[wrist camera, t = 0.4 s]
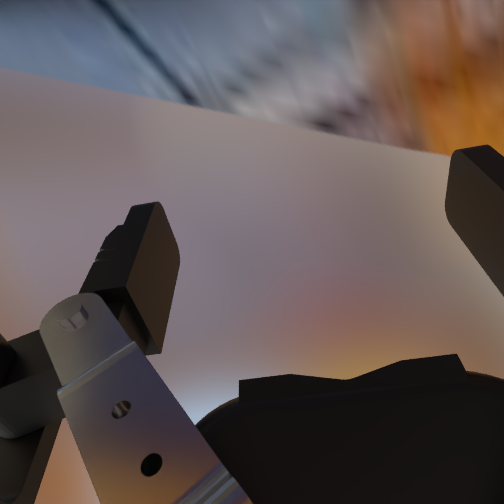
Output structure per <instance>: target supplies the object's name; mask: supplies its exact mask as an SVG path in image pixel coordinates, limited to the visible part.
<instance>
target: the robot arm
mask: <svg viewBox="0 0 504 504" xmlns="http://www.w3.org/2000/svg"><path fill="white" fill-rule="evenodd" d="M445 211H446V216H447V219H448V221H449V223H450V225H451V226H452V228H453V229H454V230H455V232H456V233H457V234H458V236H459V237H460V238H461V240H462V241H463V242H464V244H465V245H466V246H467V247H468V249H469V250H470V252H471V253H472V255H473V256H474V257H475V259H476V260H477V261H478V263H479V264H480V265H481V267H482V268H483V269H484V271H485V272H486V273H487V275H488V276H489V277H490V279H491V280H492V282H493V283H494V284H495V286H496V287H497V288H498V290H499V291H500V292H501V294H502V295H503V296H504V157H503V156H502V155H501V154H499V153H498V152H497V151H496V150H495V149H493V148H492V147H491V146H489V145H481V146H475V147H470V148H464V149H458V150H455V151H454V152H453V154H452V157H451V161H450V168H449V176H448V183H447V191H446V198H445ZM179 266H180V254H179V249H178V245H177V243H176V240H175V237H174V235H173V232H172V229H171V227H170V224H169V222H168V219H167V216H166V214H165V211H164V209H163V207H162V205H161V203H160V202H152V203H146V204H140V205H135V206H132V207H131V209H130V211H129V213H128V215H127V218H126V220H125V222H124V224H123V225H119V226H117V227H116V228H115V229H114V230H113V231H112V232H111V233H110V234H109V235H108V236H107V237H106V238H105V240H104V242H103V244H102V246H101V248H100V252H99V253H98V254H97V257H96V259H95V262H94V263H93V265H92V267H91V269H90V271H89V273H88V275H87V277H86V279H85V281H84V283H83V285H82V287H81V290H80V292H79V293H78V294H77V295H74V296H71V297H68V298H67V299H65V300H63V301H61V302H60V303H58V304H57V305H55V306H54V307H53V308H52V309H51V310H50V311H49V312H48V313H47V314H46V315H45V317H44V318H43V320H42V322H41V325H40V329H39V330H36V331H34V332H31V333H29V334H26V335H23V336H21V337H19V338H16V339H13V340H11V341H8V342H7V341H6V340H5V338H4V337H3V336H2V335H1V334H0V504H34V502H35V499H36V496H37V493H38V490H39V487H40V484H41V481H42V478H43V475H44V472H45V469H46V466H47V463H48V460H49V457H50V454H51V451H52V448H53V445H54V442H55V439H56V436H57V433H58V430H59V427H60V424H61V421H62V419H63V418H67V421H68V423H69V426H70V429H71V431H72V433H73V436H74V439H75V441H76V444H77V446H78V449H79V451H80V454H81V456H82V458H83V461H84V463H85V466H86V469H87V471H88V474H89V476H90V479H91V481H92V484H93V486H94V489H95V491H96V494H97V496H98V499H99V501H100V504H504V379H501V378H498V377H494V376H491V375H487V374H482V373H477V372H471V371H466V370H465V368H464V366H463V364H462V363H461V361H460V359H459V357H458V355H457V354H450V355H442V356H434V357H426V358H417V359H409V360H402V361H399V362H396V363H393V364H390V365H388V366H385V367H382V368H379V369H377V370H374V371H371V372H369V373H366V374H363V375H361V376H358V377H355V378H352V379H347V380H340V379H331V378H321V377H313V376H304V375H294V374H287V375H278V376H270V377H262V378H254V379H246V380H239V397H237V398H235V399H232V400H230V401H228V402H226V403H224V404H222V405H220V406H219V407H217V408H216V409H214V410H213V411H211V412H210V413H208V414H207V415H206V416H205V417H203V418H202V419H201V420H200V421H199V422H198V423H197V424H196V425H194V424H193V422H192V421H191V419H190V418H189V417H188V415H187V414H186V412H185V411H184V410H183V408H182V407H181V406H180V404H179V403H178V401H177V400H176V399H175V397H174V396H173V394H172V393H171V391H170V390H169V389H168V387H167V386H166V384H165V383H164V382H163V380H162V379H161V377H160V376H159V375H158V373H157V372H156V370H155V369H154V368H153V366H152V365H151V363H150V362H149V361H148V359H147V358H146V355H153V354H160V353H161V352H162V347H163V342H164V338H165V333H166V328H167V323H168V318H169V313H170V309H171V304H172V299H173V295H174V290H175V285H176V280H177V276H178V270H179Z"/></svg>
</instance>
